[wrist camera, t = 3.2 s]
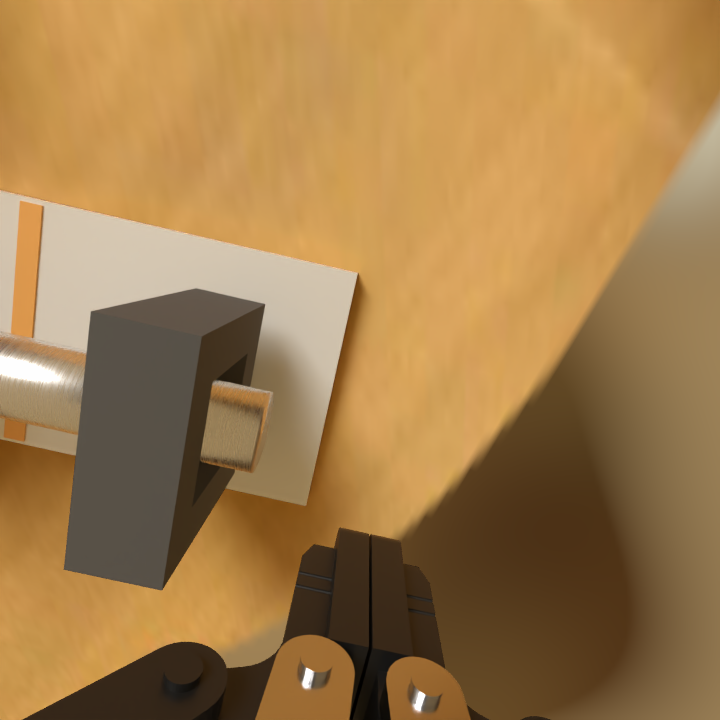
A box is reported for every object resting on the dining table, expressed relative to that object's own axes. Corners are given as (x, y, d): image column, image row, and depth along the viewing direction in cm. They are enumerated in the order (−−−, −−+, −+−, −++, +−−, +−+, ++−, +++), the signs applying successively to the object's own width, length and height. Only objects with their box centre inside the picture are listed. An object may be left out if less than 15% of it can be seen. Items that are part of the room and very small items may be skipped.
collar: (196, 288, 21) (90, 311, 13) (265, 304, 21) (201, 336, 13) (170, 459, 23) (63, 569, 15) (234, 473, 23) (162, 590, 15)
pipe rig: (-102, 166, 23) (-450, 106, 13) (358, 272, 24) (347, 289, 14) (-106, 405, 26) (-399, 501, 16) (308, 496, 26) (270, 643, 16)
